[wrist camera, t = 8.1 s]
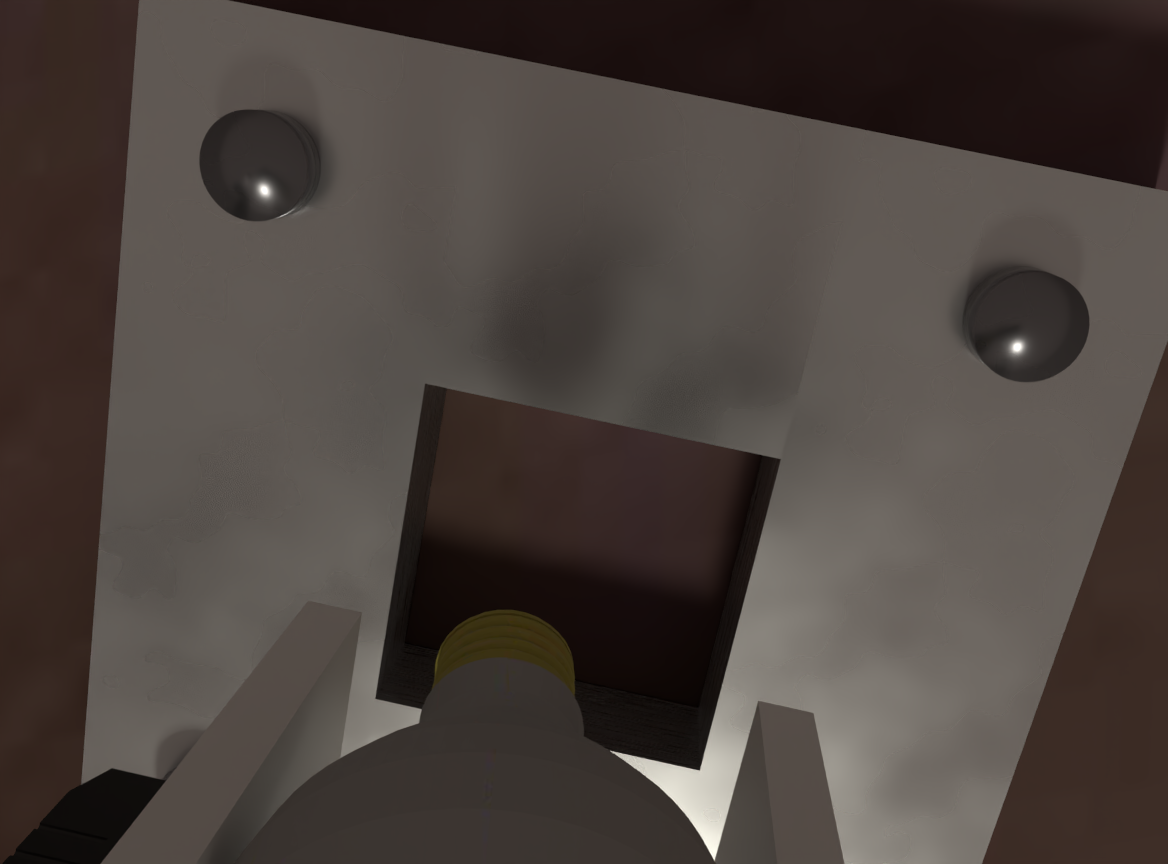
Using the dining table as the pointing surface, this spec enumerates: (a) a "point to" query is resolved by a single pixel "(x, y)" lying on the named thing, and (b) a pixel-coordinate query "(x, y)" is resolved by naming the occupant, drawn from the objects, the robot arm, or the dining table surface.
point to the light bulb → (484, 774)
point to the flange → (609, 393)
